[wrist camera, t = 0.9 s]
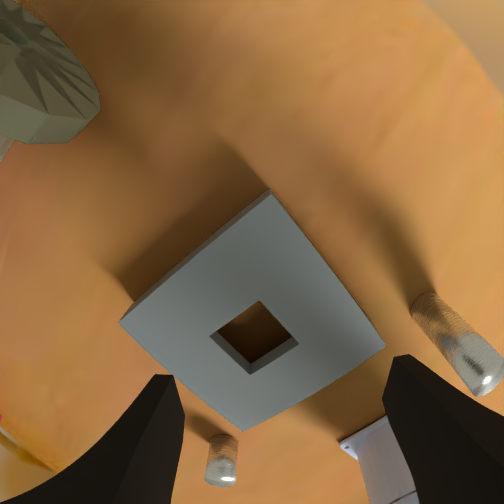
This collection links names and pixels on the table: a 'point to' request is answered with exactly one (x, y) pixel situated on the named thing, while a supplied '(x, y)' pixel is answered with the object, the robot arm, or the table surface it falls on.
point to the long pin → (459, 344)
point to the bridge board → (241, 298)
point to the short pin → (222, 461)
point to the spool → (40, 83)
